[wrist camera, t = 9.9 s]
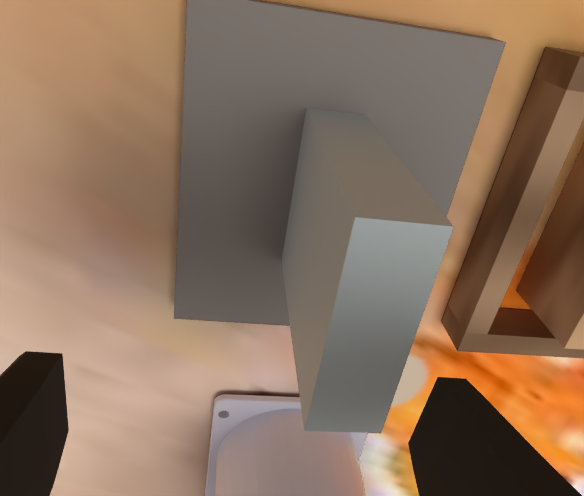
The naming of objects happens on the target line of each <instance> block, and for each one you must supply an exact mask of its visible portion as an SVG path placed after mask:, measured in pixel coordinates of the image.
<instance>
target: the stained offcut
mask: <svg viewBox="0 0 584 496" xmlns="http://www.w3.org/2000/svg"><path fill="white" fill-rule="evenodd" d="M516 291H517V292H518V293H519V294H520V296H521V297H522V298H523V299H524V300H525V302H526V303H527V304H528V305H529V306H530V308H531V309H532V310H533V311H534V312H535V314H536V315H537V316H538V317H539V319H540V320H541V321H542V322H543V323H544V325H545V326H546V327H547V328H548V329H549V331H550V332H551V333H552V334H553V335H554V337H555V338H556V339H557V340H558V342H559V343H560V344H561V345H562V346H563V348H566V349H583V350H584V143H583V145H582V148H581V150H580V152H579V154H578V156H577V159H576V161H575V163H574V165H573V167H572V169H571V172H570V174H569V176H568V178H567V180H566V183H565V185H564V187H563V189H562V191H561V193H560V196H559V198H558V200H557V202H556V204H555V207H554V209H553V211H552V213H551V215H550V217H549V220H548V222H547V224H546V226H545V228H544V231H543V233H542V235H541V237H540V239H539V241H538V244H537V246H536V248H535V250H534V252H533V255H532V257H531V259H530V261H529V263H528V265H527V268H526V270H525V272H524V274H523V276H522V279H521V281H520V283H519V285H518V287H517V289H516Z"/></svg>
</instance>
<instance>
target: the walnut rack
mask: <svg viewBox="0 0 584 496" xmlns="http://www.w3.org/2000/svg"><path fill="white" fill-rule="evenodd" d="M583 119H584V53H580V52H574V51H568V50H562V49H556V48H550V47H546V48H545V51H544V53H543V56H542V58H541V61H540V64H539V66H538V69H537V72H536V74H535V77H534V79H533V82H532V85H531V87H530V90H529V93H528V95H527V98H526V100H525V103H524V106H523V108H522V111H521V114H520V116H519V119H518V121H517V124H516V127H515V129H514V132H513V135H512V137H511V140H510V142H509V145H508V148H507V150H506V153H505V156H504V158H503V161H502V163H501V166H500V169H499V171H498V174H497V176H496V179H495V182H494V184H493V187H492V190H491V192H490V195H489V197H488V200H487V203H486V205H485V208H484V211H483V213H482V216H481V218H480V221H479V224H478V226H477V229H476V232H475V234H474V237H473V239H472V242H471V245H470V247H469V250H468V253H467V255H466V258H465V260H464V263H463V266H462V268H461V271H460V274H459V276H458V279H457V281H456V284H455V287H454V289H453V292H452V295H451V297H450V300H449V302H448V305H447V308H446V310H445V313H444V315H443V318H442V321H441V322H442V324H443V326H444V327H445V329H446V331H447V333H448V335H449V336H450V338H451V340H452V342H453V344H454V345H455V347H456V349H457V351H466V352H483V353H501V354H518V355H536V356H553V357H571V358H584V350H583V349H566V348H563V346H562V345H561V344H560V343H559V342H558V340H557V339H556V338H555V337H554V335H553V334H552V333H551V332H550V331H549V329H548V328H547V327H546V326H545V325H544V323H543V322H542V321H541V320H540V319H539V317H538V316H537V315H536V314H535V312H534V311H533V310H523V309H509V308H499V307H500V305H501V302H502V300H503V298H504V296H505V294H506V291H507V289H508V287H509V285H510V282H511V280H512V278H513V276H514V273H515V271H516V269H517V267H518V264H519V262H520V260H521V258H522V256H523V253H524V251H525V249H526V247H527V244H528V242H529V240H530V238H531V235H532V233H533V231H534V229H535V226H536V224H537V222H538V220H539V217H540V215H541V213H542V211H543V209H544V206H545V204H546V202H547V200H548V197H549V195H550V193H551V191H552V188H553V186H554V184H555V182H556V179H557V177H558V175H559V173H560V171H561V168H562V166H563V164H564V162H565V159H566V157H567V155H568V153H569V150H570V148H571V146H572V144H573V141H574V139H575V137H576V135H577V132H578V130H579V128H580V126H581V124H582V121H583Z"/></svg>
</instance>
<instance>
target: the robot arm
mask: <svg viewBox="0 0 584 496" xmlns="http://www.w3.org/2000/svg"><path fill="white" fill-rule="evenodd" d="M222 411H226V412H222ZM67 434H68V418H67V406H66V393H65V381H64V369H63V356H62V354H59V353H43V352H27V351H26V352H24V353H23V354H22V355H20V356H19V357H18V358H17V359H16V360H15V361H14V362H13V363H12V364H11V365H10V366H9V367H8V368H7V369H6V370H5V371H4V372H3V373H2V374H1V375H0V496H49V495H50V493H51V490H52V488H53V484H54V481H55V477H56V474H57V470H58V467H59V463H60V460H61V456H62V452H63V449H64V445H65V441H66V438H67ZM367 434H368V433H358V432H321V431H304V425H303V417H302V410H301V403H300V397H282V396H256V395H231V394H223V395H220V396H218V397H217V398H215V401H214V410H213V419H212V429H211V438H210V448H209V458H208V467H207V477H206V487H205V496H366V494H365V489H364V485H363V481H362V477H361V472H360V468H359V464H358V461H359V458H360V455H361V452H362V449H363V446H364V443H365V440H366V437H367ZM408 444H409V449H410V454H411V459H412V465H413V470H414V474H415V479H416V483H417V488H418V492H419V496H582V495H581V494H580V493H579V492H578V491H577V490H576V489H575V488H574V487H573V486H571V485H570V484H569V483H568V482H567V481H566V480H565V479H564V478H563V477H562V476H561V475H560V474H559V473H558V472H557V471H556V470H555V469H554V468H553V467H552V466H551V465H550V464H549V463H548V462H547V461H546V460H545V459H544V458H543V457H542V456H541V455H540V454H539V453H538V452H537V451H536V450H535V449H534V448H533V447H532V446H531V445H530V444H529V443H528V442H527V441H526V440H525V439H524V438H523V437H522V435H521V434H520V433H519V432H518V431H517V430H516V429H515V428H514V427H513V426H512V425H511V424H510V423H509V422H508V421H507V420H506V419H505V418H504V417H503V416H502V415H501V414H500V413H499V412H498V411H497V410H496V409H495V408H494V407H493V406H492V405H491V403H490V402H489V401H488V400H487V399H486V398H485V397H484V396H483V395H482V394H481V393H480V392H479V391H478V390H477V389H476V388H475V387H474V386H473V385H472V384H470V383H469V382H468V381H467V380H466V379H460V378H444V377H438V378H437V380H436V382H435V385H434V387H433V389H432V391H431V394H430V396H429V398H428V400H427V403H426V405H425V407H424V409H423V412H422V414H421V416H420V418H419V421H418V423H417V425H416V427H415V430H414V432H413V434H412V436H411V439H410V441H409V443H408Z"/></svg>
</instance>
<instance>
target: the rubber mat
mask: <svg viewBox="0 0 584 496" xmlns="http://www.w3.org/2000/svg"><path fill="white" fill-rule="evenodd" d="M505 44H506V42H503V41H500V40H497V39H494V38H489V37H483V36H476V35H470V34H464V33H458V32H452V31H446V30H440V29H434V28H427V27H421V26H415V25H409V24H403V23H397V22H391V21H385V20H379V19H372V18H366V17H360V16H354V15H348V14H342V13H336V12H330V11H323V10H317V9H311V8H305V7H299V6H293V5H287V4H281V3H275V2H268V1H262V0H187V19H186V43H185V66H184V90H183V114H182V138H181V162H180V186H179V210H178V234H177V258H176V282H175V305H174V319H189V320H205V321H221V322H237V323H253V324H270V325H286V326H290V321H289V313H288V306H287V299H286V291H285V284H284V276H283V269H282V262H281V261H282V255H283V249H284V243H285V237H286V231H287V225H288V218H289V212H290V206H291V200H292V194H293V188H294V182H295V175H296V169H297V163H298V157H299V151H300V145H301V139H302V132H303V126H304V120H305V114H306V108H315V109H323V110H330V111H338V112H346V113H354V114H361V115H365V116H366V117H367V118H368V119H369V121H370V122H371V123H372V124H373V126H374V127H375V128H376V129H377V131H378V132H379V133H380V134H381V136H382V137H383V138H384V140H385V141H386V142H387V143H388V145H389V146H390V147H391V148H392V150H393V151H394V152H395V153H396V155H397V156H398V157H399V158H400V160H401V161H402V162H403V163H404V165H405V166H406V167H407V169H408V170H409V171H410V172H411V174H412V175H413V176H414V177H415V179H416V180H417V181H418V182H419V184H420V185H421V186H422V187H423V189H424V190H425V191H426V192H427V194H428V195H429V196H430V198H431V199H432V200H433V201H434V203H435V204H436V205H437V206H438V208H439V209H440V210H441V211H442V213H443V214H444V215H445V216H447V213H448V210H449V207H450V204H451V201H452V199H453V196H454V193H455V190H456V187H457V184H458V181H459V178H460V175H461V172H462V169H463V166H464V164H465V161H466V158H467V155H468V152H469V149H470V146H471V143H472V140H473V137H474V134H475V131H476V128H477V126H478V123H479V120H480V117H481V114H482V111H483V108H484V105H485V102H486V99H487V96H488V93H489V90H490V88H491V85H492V82H493V79H494V76H495V73H496V70H497V67H498V64H499V61H500V58H501V55H502V52H503V50H504V47H505Z"/></svg>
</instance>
